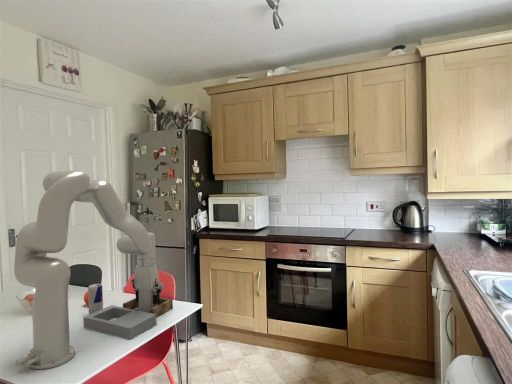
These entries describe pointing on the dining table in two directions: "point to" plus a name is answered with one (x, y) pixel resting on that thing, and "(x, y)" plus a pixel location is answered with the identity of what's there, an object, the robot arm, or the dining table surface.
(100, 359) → the dining table surface
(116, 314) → the hole board
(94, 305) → the energy drink
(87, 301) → the clementine
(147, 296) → the can
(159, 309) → the cubby
